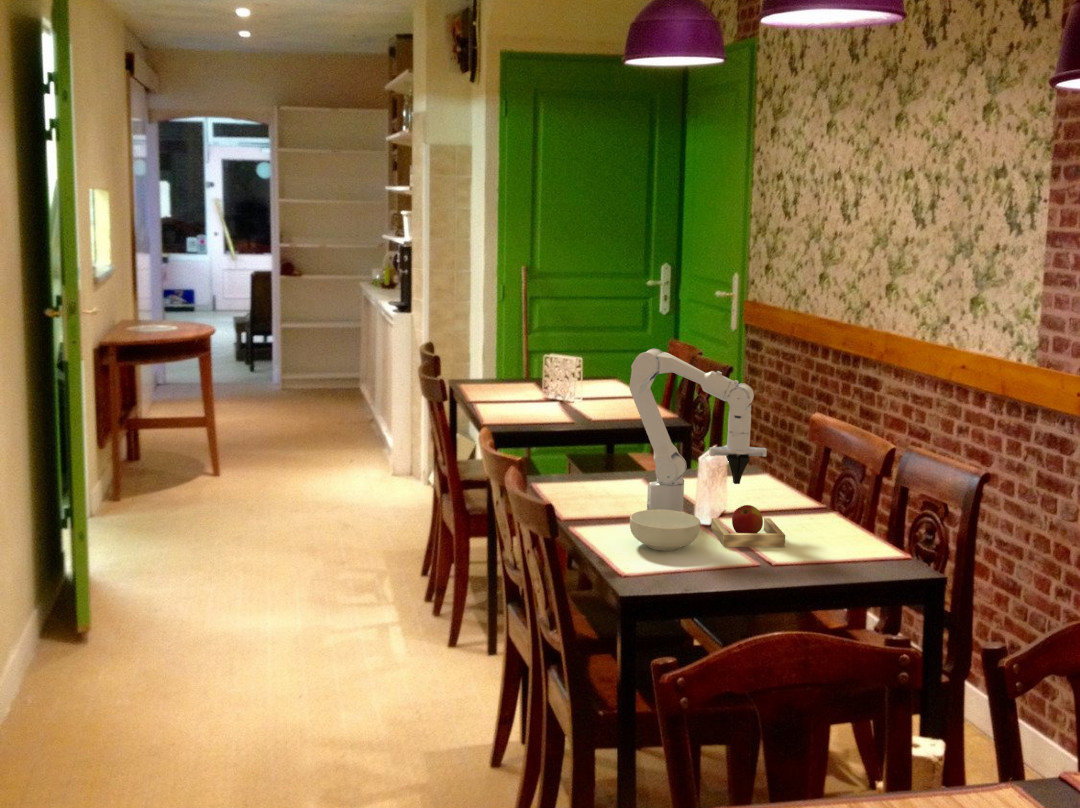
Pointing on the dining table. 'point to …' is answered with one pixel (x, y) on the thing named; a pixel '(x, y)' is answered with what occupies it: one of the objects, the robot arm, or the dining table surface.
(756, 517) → the apple
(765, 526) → the shallow wooden tray
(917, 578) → the dining table surface
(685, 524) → the cereal bowl
